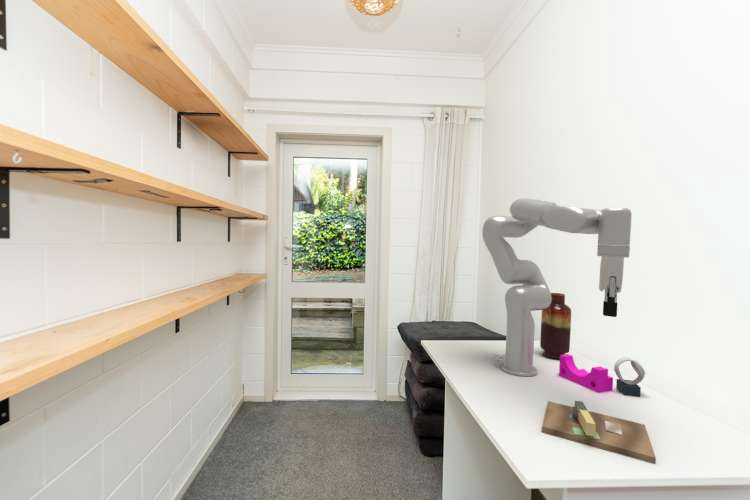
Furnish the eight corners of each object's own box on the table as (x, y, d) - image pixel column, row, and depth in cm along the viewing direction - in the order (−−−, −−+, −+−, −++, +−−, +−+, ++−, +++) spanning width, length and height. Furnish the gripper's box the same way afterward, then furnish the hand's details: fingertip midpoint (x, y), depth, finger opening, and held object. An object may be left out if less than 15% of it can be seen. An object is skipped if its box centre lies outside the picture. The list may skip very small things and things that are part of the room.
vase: (545, 349, 154) (548, 291, 153) (573, 355, 146) (576, 294, 145) (535, 354, 146) (538, 293, 146) (563, 361, 138) (566, 297, 137)
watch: (647, 398, 107) (649, 363, 107) (618, 394, 109) (620, 360, 109) (637, 390, 113) (639, 357, 113) (610, 387, 115) (611, 354, 114)
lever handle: (570, 413, 92) (570, 399, 91) (585, 415, 90) (586, 402, 90) (581, 436, 81) (582, 421, 81) (599, 439, 80) (600, 424, 79)
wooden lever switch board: (541, 434, 85) (542, 425, 85) (547, 407, 99) (548, 400, 99) (655, 467, 74) (655, 456, 74) (644, 432, 88) (644, 423, 87)
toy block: (612, 391, 112) (613, 368, 112) (598, 393, 110) (599, 370, 110) (571, 373, 126) (572, 353, 126) (558, 375, 124) (559, 355, 124)
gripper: (596, 250, 106) (593, 309, 107) (598, 251, 93) (594, 318, 94) (626, 251, 102) (623, 313, 103) (632, 252, 90) (628, 323, 90)
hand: (609, 315), depth 98 cm, fingers closed
